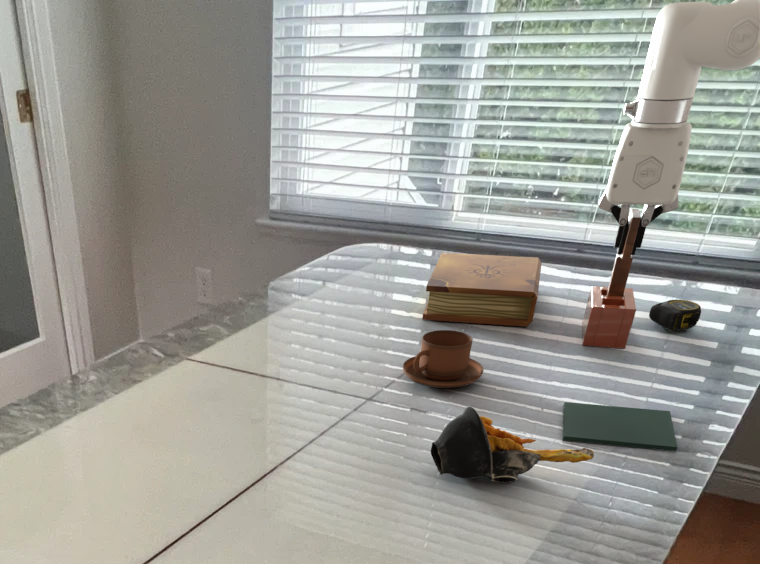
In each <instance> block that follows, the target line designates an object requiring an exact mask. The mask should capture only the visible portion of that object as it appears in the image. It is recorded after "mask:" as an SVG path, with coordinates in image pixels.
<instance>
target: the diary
mask: <svg viewBox="0 0 760 564" xmlns="http://www.w3.org/2000/svg"><path fill="white" fill-rule="evenodd" d="M541 272H542V262H541V259H540V258H539V257H536V256H535V257H533V256H517V255H495V254H494V255H493V254H473V253H456V252H455V253H454V252H453V253H452V252H451V253H450V252H441V253H440V256H439V257H438V260H437V262H436V264H435V266H434V268H433V271H432V273H431V275H430V278H429V280H428V282H427V284H426V288H425V292H429V294H428V300H427V301H428V302H427V304H426V306H425V309H424V310H423V313H422V320H423V321H439V322H450V323H451V322H452V323H465V324H466V323H467V324H480V325H481V324H483V325H495V326H496V325H498V326H509V327H510V326H511V327H528V326H529V325H530V324H531V323H533V321H534V315H535V313H536V307H537V302H538V297H539V288H540V279H541Z"/></svg>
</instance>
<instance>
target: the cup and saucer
mask: <svg viewBox="0 0 760 564" xmlns="http://www.w3.org/2000/svg"><path fill="white" fill-rule="evenodd" d="M472 345H473V337H472V336H471V335H470V334H468V333H466V332H462V331H460V330H452V329H438V330H432V331H429V332H425V333H424V334H423V335H422V337H421V344H420V352H418V353H417V354H416V355H415V356H412V357H409V358H408V359H406V360H405V361H404V362H403V364H402V371H403V373H404V374H405V375H406V376H407V378H408V379H410V380H411V381H412V382H415V383H417V384H419V385H422V386H426V387H431V388H438V389H439V388H441V389H452V388H461V387H464V386H468V385H471V384H473V383H475V382H476V381H477V380H478V379H480V378H481V377H482V376H483V374H484V369H485V368H484V366H483V365H482V363H480V362H479V361H477V360H475V359H473V358H471V357H470V356H471V350H472Z"/></svg>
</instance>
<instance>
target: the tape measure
mask: <svg viewBox="0 0 760 564" xmlns="http://www.w3.org/2000/svg"><path fill="white" fill-rule="evenodd" d="M701 308H702V307H701V305H700V304H699V303H697V302H695V301H691V300H688V299H687V300H686V299H667V300H666V301H662V302H659V303H655V304H653V305H652V306H651V307H650V310H649V312H648V313H649V314H648V318H649V319H650V320H651V321H653V323H656V324H657V325H659V326H661V327H662V328H663V329H667V330H669V331H670V332H671V331H672V332H673V331H677V330H689V329H692V328H694V327H695V326H696V325H697V323H698V322H699V321H700V318H701V314H702V309H701Z"/></svg>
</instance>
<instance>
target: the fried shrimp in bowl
mask: <svg viewBox="0 0 760 564" xmlns="http://www.w3.org/2000/svg"><path fill="white" fill-rule="evenodd" d="M493 421H494V420H493V419H491V418H489V417H486V416H484V415H479V413H478V412H477V410H476V409H475V408H473V406H471V405H469V406H466V407H465V409H464V410H463V412H462V413H461V414H459V415H457V416H456V417H454V419H451V421H449V422H448V423H447V424H446V426H445V428H443V429H442V431H441V433H440V435H439V436H438V438H437V439H436V440H434V441H433V442H432V443H431V447H430V455H431V458H432V460H433V462H434V464H435V466H436V468H437V471H438V473H439V475H440V476H442V475H446V474H448V475H452V476H454V477H457V478H460V479H476V478H485V479H487V480H488V481H491V482H495V483H512V482H515V481H517V480H518V478H519V477H518V476H519V475H522V474H525V473H527V472H530V470H531V469H533V468H534V466H535V465H537V464H538V462H551V463H564V462H570V463H571V464H575V463H580V462H587V461H590V460H593V458H594V456H595V451H594V450H593V449H590V448H586V447H583V448H581V449H576V448H575V449H571V448H569V449H562V448H561V449H528V448H525V447H524V445H525V444H532V443H534V442H536V439H533V438H530V437H529V438H521V437H520V436H518V435H514V434H512V433H510V432H507V431H506V430H502V429H500V428H496V427H494V426H493V424H494V423H493Z"/></svg>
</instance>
